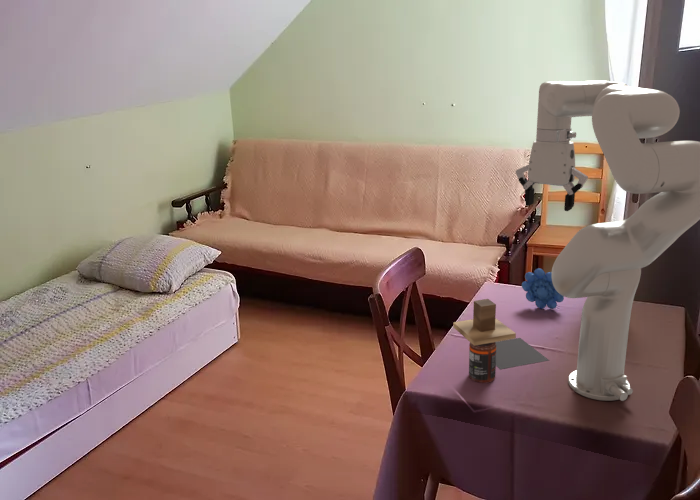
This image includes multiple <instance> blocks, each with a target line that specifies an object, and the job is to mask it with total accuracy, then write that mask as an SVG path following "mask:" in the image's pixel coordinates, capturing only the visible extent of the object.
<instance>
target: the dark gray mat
mask: <svg viewBox="0 0 700 500" xmlns="http://www.w3.org/2000/svg"><path fill="white" fill-rule="evenodd" d="M495 343H496V367H497V368H498V369H499V370H505V369H510V368H515V367H520V366H521V367H522V366H527V365H531V364H536V363H542V362H548V361H550V359H549V358H547V357H546V356H545V355H543V354H542V353H541V352H539V351H538V350H537V349H535V348H534V347H533V346H531V345H530V344H529V343H527V342H526V341H525V340H524V339H522V338H521V337H517V338H515V339H509V340H503V341H498V342H495Z"/></svg>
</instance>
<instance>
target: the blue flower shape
mask: <svg viewBox="0 0 700 500" xmlns="http://www.w3.org/2000/svg"><path fill="white" fill-rule="evenodd" d="M524 278H525V281H522V283H521V289H522V290H523V291H525V292H526V293H525V299H526V300H527V301H528V302H531V303H534V302H535V306H536V307H537V308H538V309H541V310H542V309H545V308H546V307H547V308H548V309H551V310H554V309H556V308H557V307H558V303H562V302H563V301H564V300H565V297H564V296H562V295H561V294H559V293H558V292H557V291H556V289H555V288H554V286H553V283H552V271H549V272H548V271H547V272H545V271H544V270H543V269H542V268H539V267H538V268H535V270H534V272H531V271H528V272H526V273H525V275H524Z"/></svg>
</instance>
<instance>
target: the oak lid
mask: <svg viewBox="0 0 700 500" xmlns="http://www.w3.org/2000/svg"><path fill="white" fill-rule="evenodd" d="M472 311H473V318H472V319H467V320H466V319H465V320H460V321H459V320H458V321H454V322H453V326H452V327H453V329H455V330H456V331H457V332H458V333H459V334H460V335H461V336H462V337H464V338H465V339H466V340H467V341H468V342H469V344H470V343H472V344H473V345H474V346H475V345H481V344H487V343H492V342H498V341H504V340H510V339H516V337H517V333H516V332H515V331H513V330H512V329H511V328H510V327H508V326H507V325H506V324H504V323H503V322H502V321H500V320H499V319H498V318H497V317H496V316H497V315H496V313H497V312H496V311H497V304H496V303H495V302H493V301H492V300H491V299H489V298H484V299H483V298H482V299H478V300H473V310H472Z"/></svg>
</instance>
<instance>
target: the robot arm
mask: <svg viewBox="0 0 700 500" xmlns="http://www.w3.org/2000/svg"><path fill="white" fill-rule="evenodd" d="M538 88H539V89H538V103H537V118H536V120H537V121H536V133H535V134H536V136H535V137H536V138H535V139H536V140H534V141H533V142H532V147H531V150H530V155H529V160H528V161H529V162H528V164H527V165H525V166H522V167H520V168H517V169H516V170H515V174H516V176H517V179H518V183H520V184H521V186H522V188H523V190H524V202H525V206H526V207H529V206H531V205H533V204H534V203H535V202H534V201H535V188H534V187H533V186H534V185H536V184H538V185H547V186H559V187H563V188H564V190H565V192H566V193H567V194H565V195H564V207H563V209H564V210H563V211H565V212H569V211H570V210H572V208H574V206H575V199H576V198H575V197H576V193H577V192H579V190H581V189H582V188H583V187H584V185H585V183H586V182H587V181H588V179H589V176H588V175H587V174H585V173H583V172H582V171H580V170H579V169H577V168H576V152H575V143H574V141H571V140H572V139H576V137H577V132H576V131H573V130H572V127H571V126H572V118H577V117H578V118H579V117H581V118H582V117H591V124H592V129H593V132H594V135H595V139H596V141H597V142H598V144H599V147H600V149H601V151H602V153H603V156H604V158H605V160H606V162H607V165H608V167H609V169H610V172H611V174H612V176H613V178H614V181H615V182H616V184H617V185H618V187H620V188H621V189H622V190H623V191H625V192H626V193H630V194H635V195H641V194H644V195H645V194H654V193H655V195H653V196H652V197H650V198H648V199H647V200H646V201H645V202H643V203H642V204H641V205H640V206H639V208H638V209H636V210H635V212H634V213H632V215H630V216H629V217H628V218H626V219H621V220H617V221H615V220H614V221H608V222H607V221H606V222H596V223H593V224H588V225H586V226H584V227H583V228H580V229H579V230H578V231H577V232H576V233H575V234H574V235H573V236H572V238H571V239H570V240H569V242H567V244H566V245H565V247H564V248H563V249H562V250H561V252H560V253H559V254H558V255H557V256H556V259H555V261H554V262H553V265H552V268H551V272H552V283H553V286H554V288H555V289H556V291H557V292H558V293H559V294H561V295H562V296H564V298H567V299H581V298H586V300H585V301H584V304H583V306H582V309H581V318H580V326H579V327H580V330H579V337H578V338H579V340H578V349H577V351H578V353H577V362H576V363H577V364H576V370H574V371H572V372H571V373H569V376H568V381H567V383H568V385H569V387H570V388H571V389H572V390H573V391H574V392H576V393H577V394H579V395H581V396H583V397H586V398H588V399H592V400H597V401H604V402H605V401H606V402H609V401H610V402H611V401H621V402H624V401H626V400H627V399H628V396H629V395H632V394H633V392H634V390H633V388H631V385H630V382H629V381H628V379H627V377H628V376H627V375H625V367H626V366H625V365H626V356H627V350H628V349H627V347H628V342H629V341H628V339H629V329H630V322H631V315H632V314H631V313H632V309H633V308H632V307H633V303H634V299H635V296H636V295H635V294H636V292H637V289H638V286H639V283H640V279H641V276H642V275H641V274H642V269H643V268H645V267H648V266H649V265H650V264H652V263H653V262H654V261H655V260H656V259H658V257H660V256H661V255H662V254H663V253H664V252H665V251H667V249H668V248H669V247H671V246H672V244H674V243H675V242H676V241H677V240H678V239H679V237H681V236H682V235H683V234H684V233H685V232H686V231H688V230H689V229H690V228H691V227H693V226H694V225H695V224H697V222H698V221H700V141H697V140H674V141H673V140H672V141H659V142H646V143H645V142H644V143H642V142H641V140H640V139H650V138H652V139H653V138H656V137H660V136H662V135H665V134H666V133H668V132H670V131H671V130H672V129H673V128H674V127H675V125H676V124H677V122H678V121H679V118H680V112H681V109H680V106H679V103H678V101H677V100H676V99H675V98H674V97H673V96H672V95H671V94H668V93H667V92H665V91H663V90H658V89H653V88H644V87H636V86H629V85H627V83H624V82H618V81H611V80H610V81H609V80H585V81H582V80H581V81H566V80H554V81H553V80H550V81H549V80H548V81H544V82H542V83H541V84H540V86H539V87H538ZM526 172H527V177H526V176H525V173H526ZM576 178H577V179H578V182H577V183H576V184H574V183H573V182H574V181H575V179H576ZM656 193H657V194H656Z"/></svg>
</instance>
